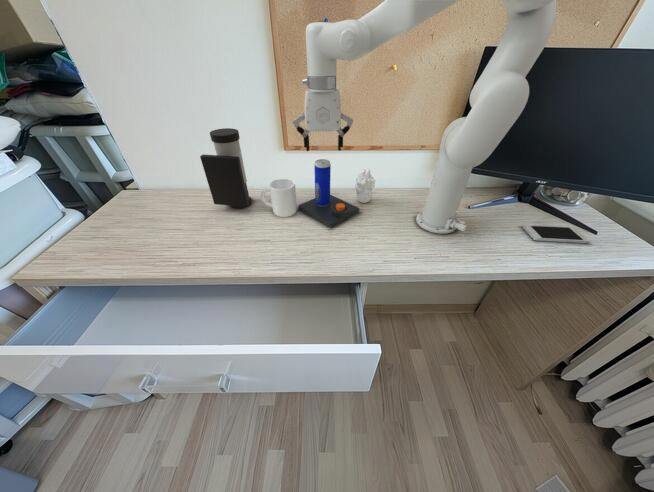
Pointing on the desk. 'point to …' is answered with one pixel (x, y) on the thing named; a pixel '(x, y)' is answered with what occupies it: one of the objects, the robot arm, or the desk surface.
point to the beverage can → (322, 182)
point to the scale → (328, 211)
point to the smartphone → (555, 234)
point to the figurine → (364, 186)
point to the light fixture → (226, 170)
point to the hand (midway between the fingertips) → (323, 149)
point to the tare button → (340, 207)
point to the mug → (281, 197)
